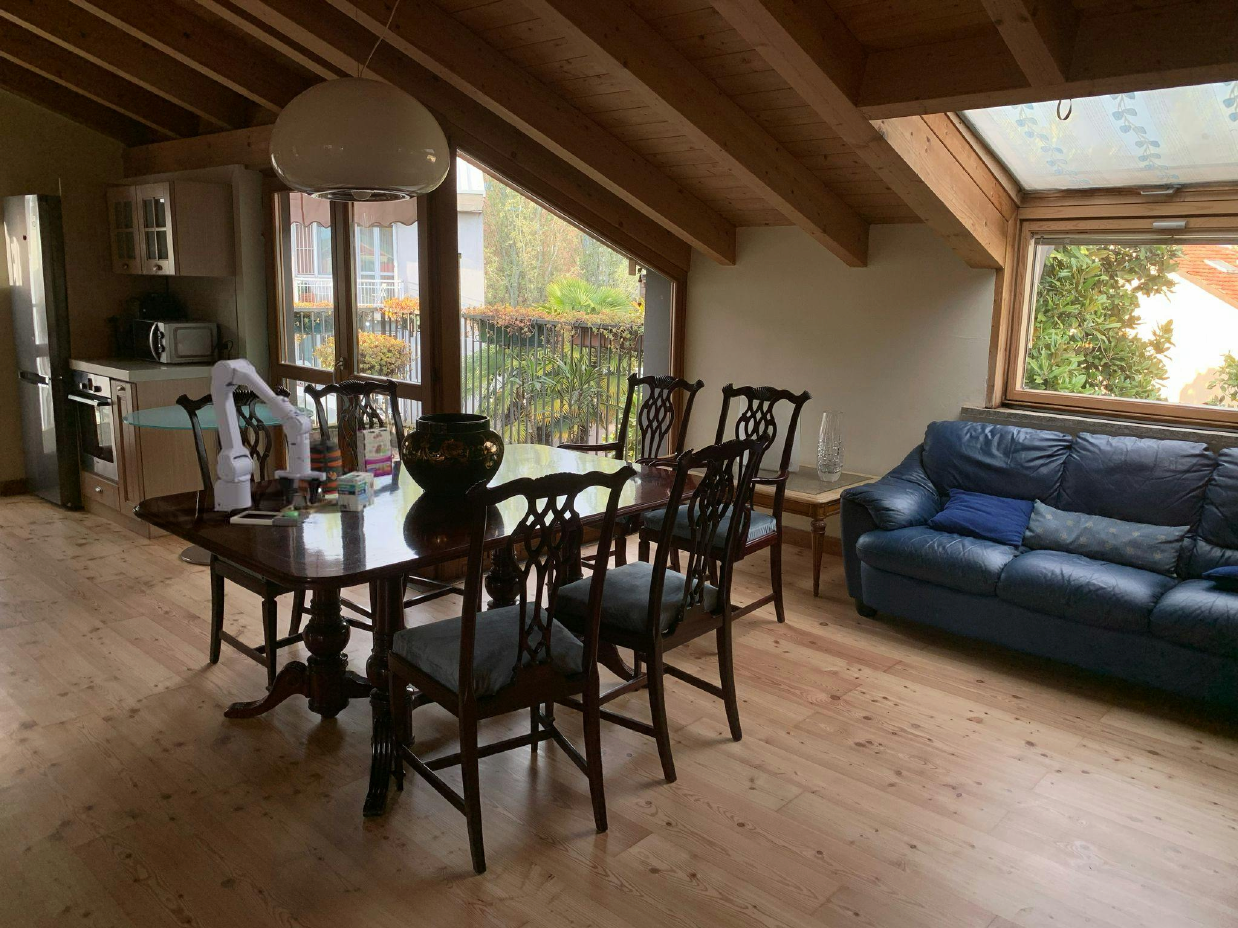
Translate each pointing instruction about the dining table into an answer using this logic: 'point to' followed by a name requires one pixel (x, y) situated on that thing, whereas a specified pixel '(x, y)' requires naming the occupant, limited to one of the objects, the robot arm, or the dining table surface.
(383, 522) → the dining table surface
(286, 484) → the robot arm
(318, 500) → the billet
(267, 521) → the white rectangular frame
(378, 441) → the candy bar box
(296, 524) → the console
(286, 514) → the button
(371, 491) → the light bulb box
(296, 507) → the billet
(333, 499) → the pallet board
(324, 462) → the grey orange striped backpack
